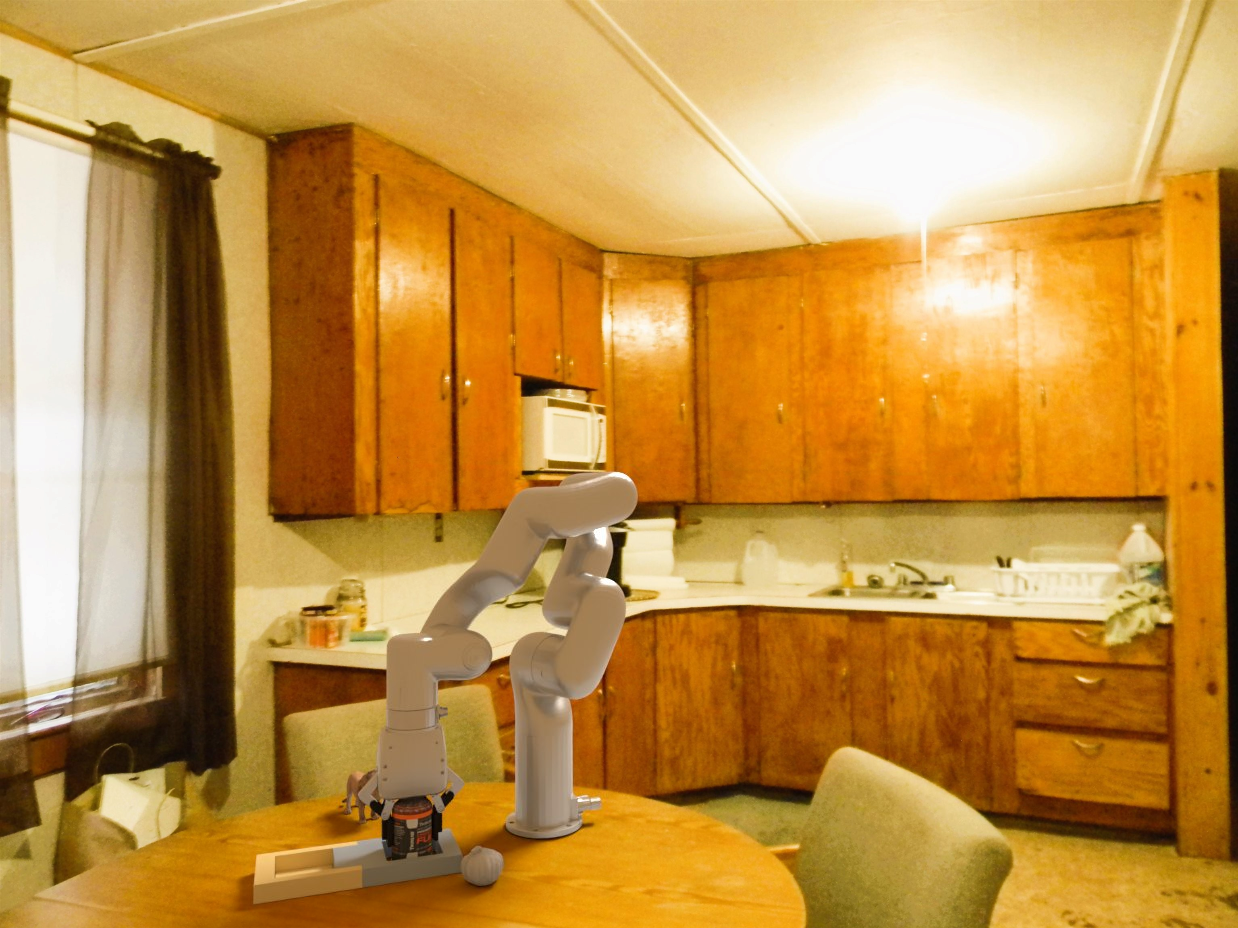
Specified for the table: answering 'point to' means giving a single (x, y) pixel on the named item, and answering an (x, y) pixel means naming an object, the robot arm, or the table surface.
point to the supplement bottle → (412, 828)
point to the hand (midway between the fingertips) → (412, 839)
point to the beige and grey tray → (347, 868)
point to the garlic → (482, 866)
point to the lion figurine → (353, 787)
